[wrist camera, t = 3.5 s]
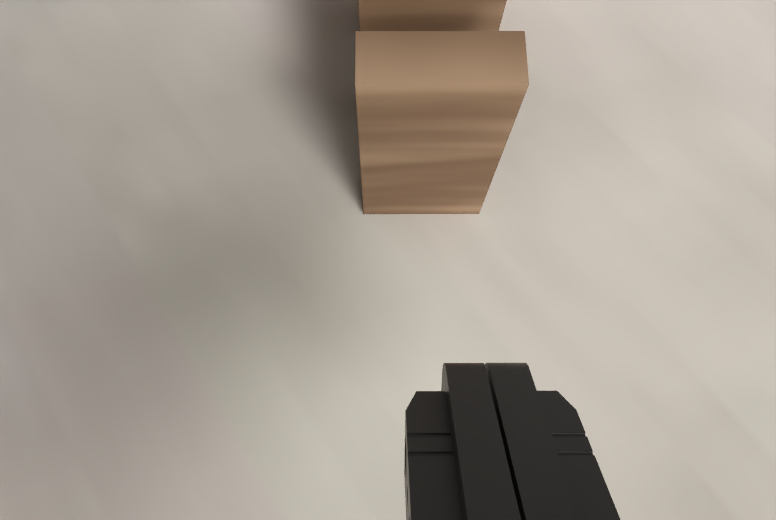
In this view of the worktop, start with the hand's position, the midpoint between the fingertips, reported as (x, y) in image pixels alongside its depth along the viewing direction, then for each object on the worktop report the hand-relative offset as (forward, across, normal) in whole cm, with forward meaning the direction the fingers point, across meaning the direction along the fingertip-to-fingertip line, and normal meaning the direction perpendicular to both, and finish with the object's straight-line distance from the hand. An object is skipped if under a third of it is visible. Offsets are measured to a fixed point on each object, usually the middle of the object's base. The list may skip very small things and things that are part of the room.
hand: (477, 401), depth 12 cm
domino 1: (+17, 0, +3) cm, 17 cm away
